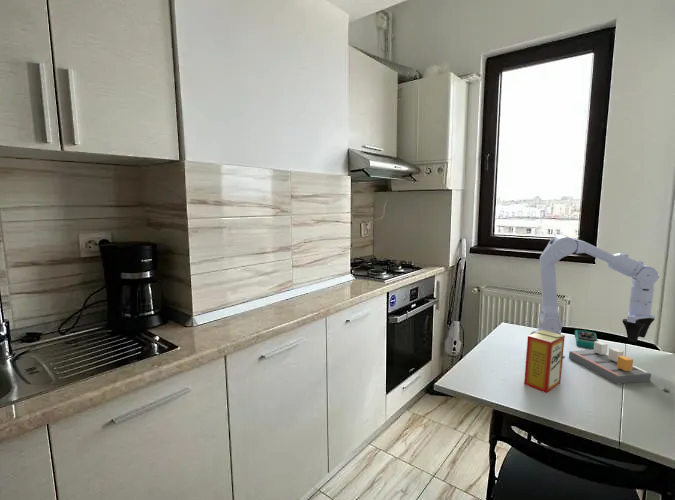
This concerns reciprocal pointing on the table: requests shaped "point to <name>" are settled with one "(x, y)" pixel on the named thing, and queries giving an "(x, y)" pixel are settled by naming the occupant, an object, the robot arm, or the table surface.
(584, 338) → the digital multimeter
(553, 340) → the baking soda box
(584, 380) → the table surface
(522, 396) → the table surface
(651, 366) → the table surface
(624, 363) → the orange small block
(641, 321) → the robot arm
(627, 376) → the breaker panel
